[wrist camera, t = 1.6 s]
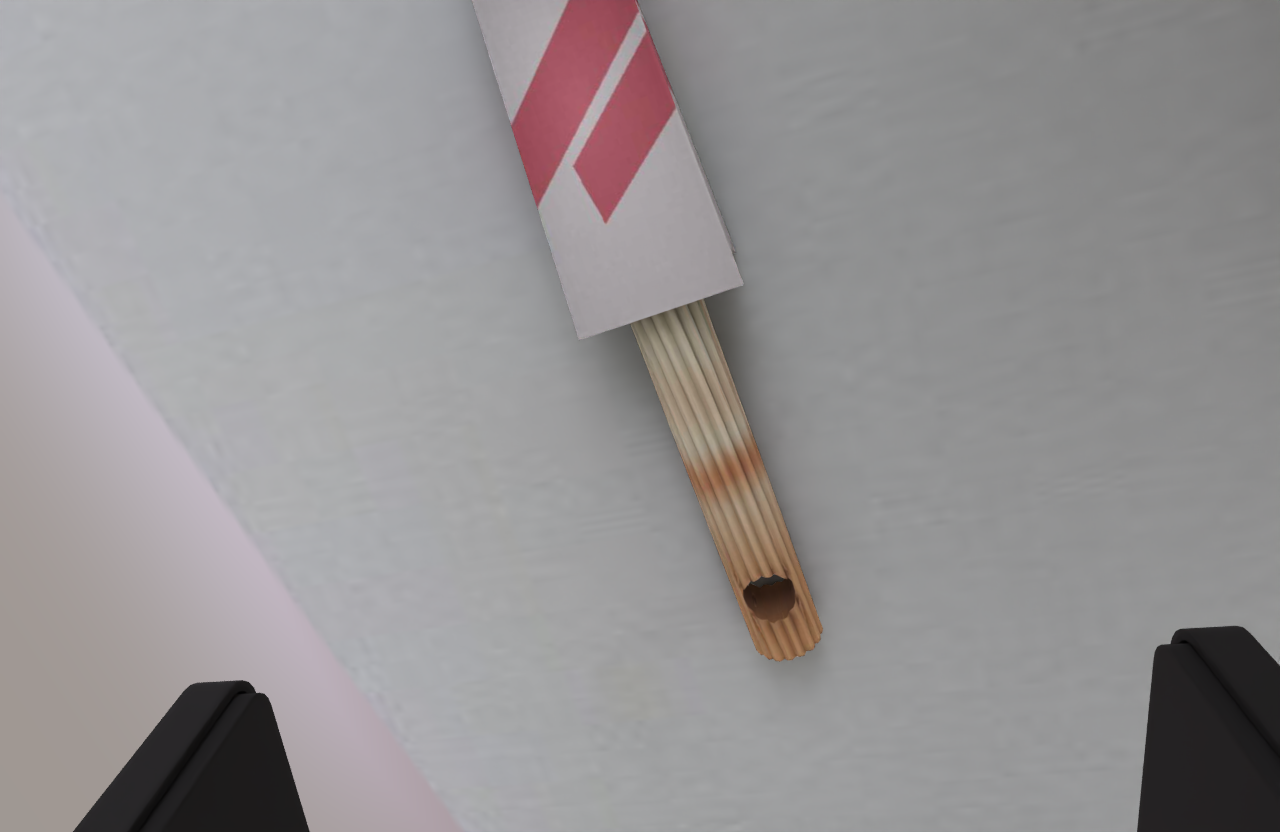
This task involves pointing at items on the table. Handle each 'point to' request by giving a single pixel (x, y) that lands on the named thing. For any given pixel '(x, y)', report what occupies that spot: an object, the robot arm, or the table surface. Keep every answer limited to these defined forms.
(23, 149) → the table surface
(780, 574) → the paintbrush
